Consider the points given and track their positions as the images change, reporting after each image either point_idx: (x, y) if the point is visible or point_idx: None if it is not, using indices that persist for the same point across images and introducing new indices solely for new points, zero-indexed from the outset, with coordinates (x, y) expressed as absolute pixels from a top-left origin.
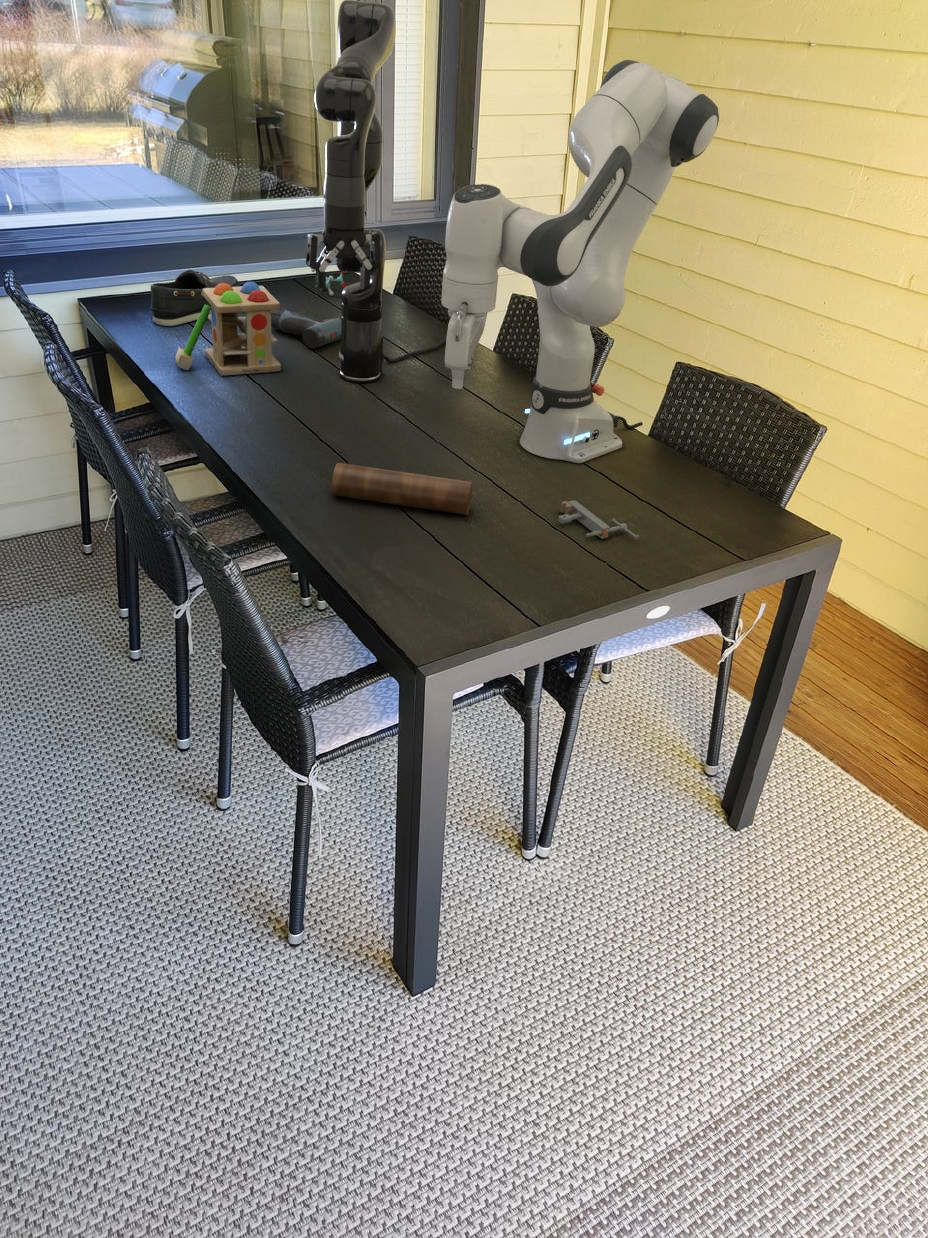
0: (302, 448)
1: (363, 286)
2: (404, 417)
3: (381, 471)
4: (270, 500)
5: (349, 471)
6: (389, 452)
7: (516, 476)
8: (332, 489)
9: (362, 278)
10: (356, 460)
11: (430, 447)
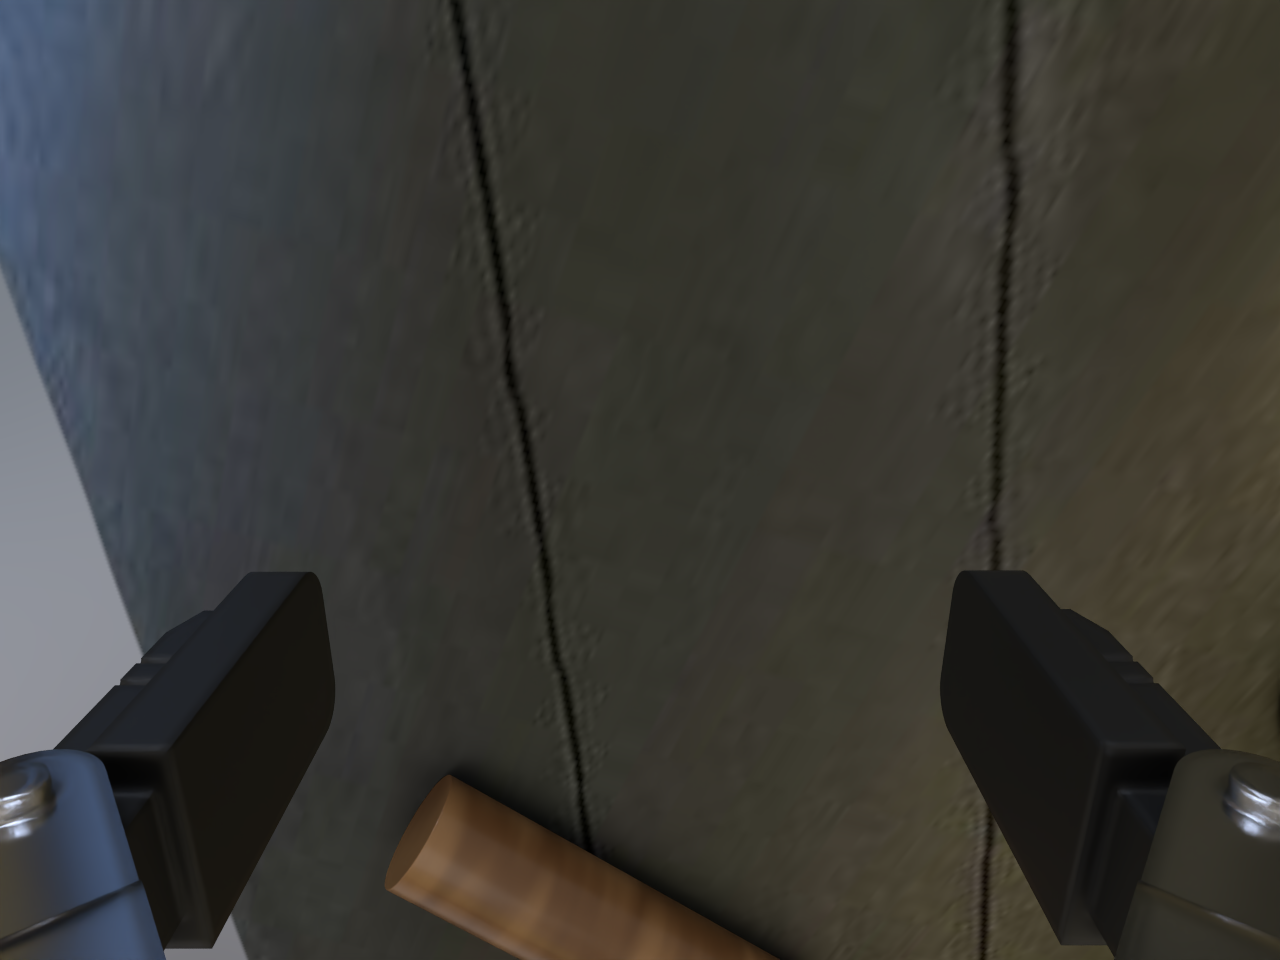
0: (406, 427)
1: (953, 707)
2: (1007, 229)
3: (546, 958)
4: None
5: (439, 914)
6: (750, 559)
7: None
8: (393, 856)
9: (1003, 732)
10: (591, 588)
11: (937, 563)
